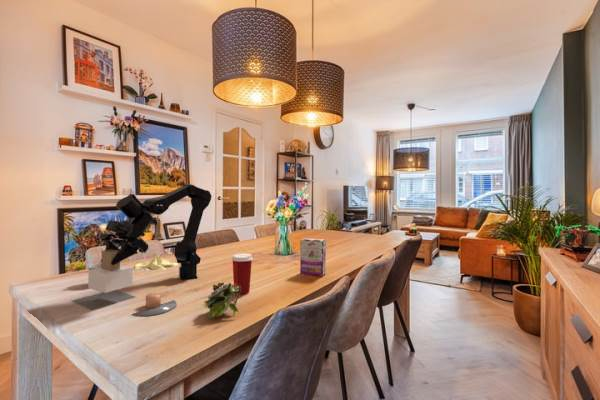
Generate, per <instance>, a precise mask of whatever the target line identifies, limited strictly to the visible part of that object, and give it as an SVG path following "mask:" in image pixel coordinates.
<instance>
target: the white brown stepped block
mask: <svg viewBox="0 0 600 400" xmlns="http://www.w3.org/2000/svg"><path fill="white" fill-rule="evenodd" d="M117 253H118V250H111V249H110V250H105V249H103V250H101V259H102V267H101V268H96V269H91V270H89V269H88V278H87V279H88V283H87V284H88V286H87V287H88V289H90V290H93V291H97V292H100V293H103V292H104V293H107V292H110V291H114V290H121V289H123V288H128V287H130V286H133V267H131V266H126V265H123V264H122V265H121V261H120V262H119V263H117V264H115V265H112V264H111V262H112V260H113V259H114V257H115V256H116V254H117Z"/></svg>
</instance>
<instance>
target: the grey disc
mask: <svg viewBox="0 0 600 400" xmlns="http://www.w3.org/2000/svg"><path fill="white" fill-rule="evenodd" d="M177 304H178V303H177V301H176V300H170V301H168V302H164V303H162V294H161V293H160V292H152V293H149V294H147V295H145V308H146V309H142V310H140V311H137V312H134V313H132V314H131V315H132V316H135V317H151V316H158V315H159V316H160V315H163V314H166V313H169V312H171V311H172V310H174V309H175V308H177Z"/></svg>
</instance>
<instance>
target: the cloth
mask: <svg viewBox="0 0 600 400" xmlns="http://www.w3.org/2000/svg"><path fill="white" fill-rule="evenodd" d="M178 265H179V263H177V262H171V261H169V260H167V259H163V258H162V257H161V256H160V255H159V254H156V255H155V256H154V258H153V259H152V260H150V262H141V263H136V264H135V265H134V267H133V269H134V270H140V269H143V270H144V271H150V270H152V271H153V270H154V271H166V270H167V268H168V267H169V268H174V267H177V266H178ZM149 268H150V269H149Z"/></svg>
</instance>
